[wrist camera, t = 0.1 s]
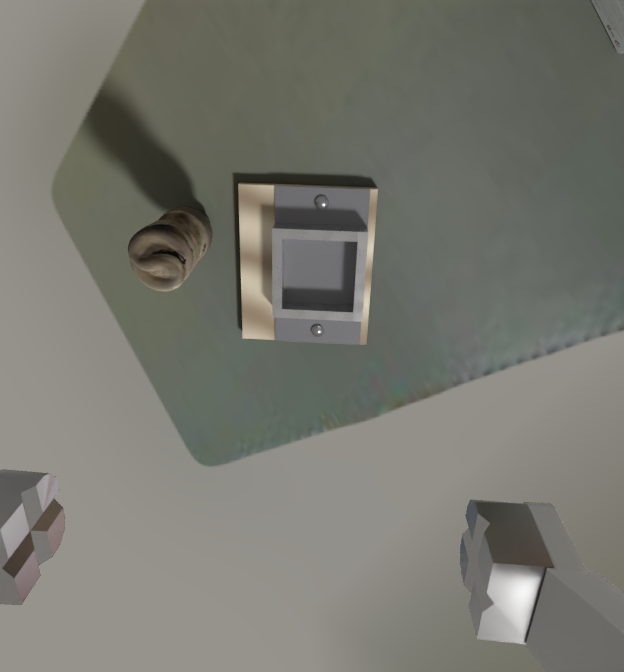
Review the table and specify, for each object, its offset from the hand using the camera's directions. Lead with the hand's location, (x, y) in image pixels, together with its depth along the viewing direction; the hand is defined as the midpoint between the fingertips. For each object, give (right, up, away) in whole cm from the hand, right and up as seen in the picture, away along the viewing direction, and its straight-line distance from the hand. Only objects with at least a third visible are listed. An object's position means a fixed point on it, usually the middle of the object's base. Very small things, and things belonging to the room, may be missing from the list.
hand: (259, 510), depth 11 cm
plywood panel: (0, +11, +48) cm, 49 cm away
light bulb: (-11, +15, +47) cm, 50 cm away
